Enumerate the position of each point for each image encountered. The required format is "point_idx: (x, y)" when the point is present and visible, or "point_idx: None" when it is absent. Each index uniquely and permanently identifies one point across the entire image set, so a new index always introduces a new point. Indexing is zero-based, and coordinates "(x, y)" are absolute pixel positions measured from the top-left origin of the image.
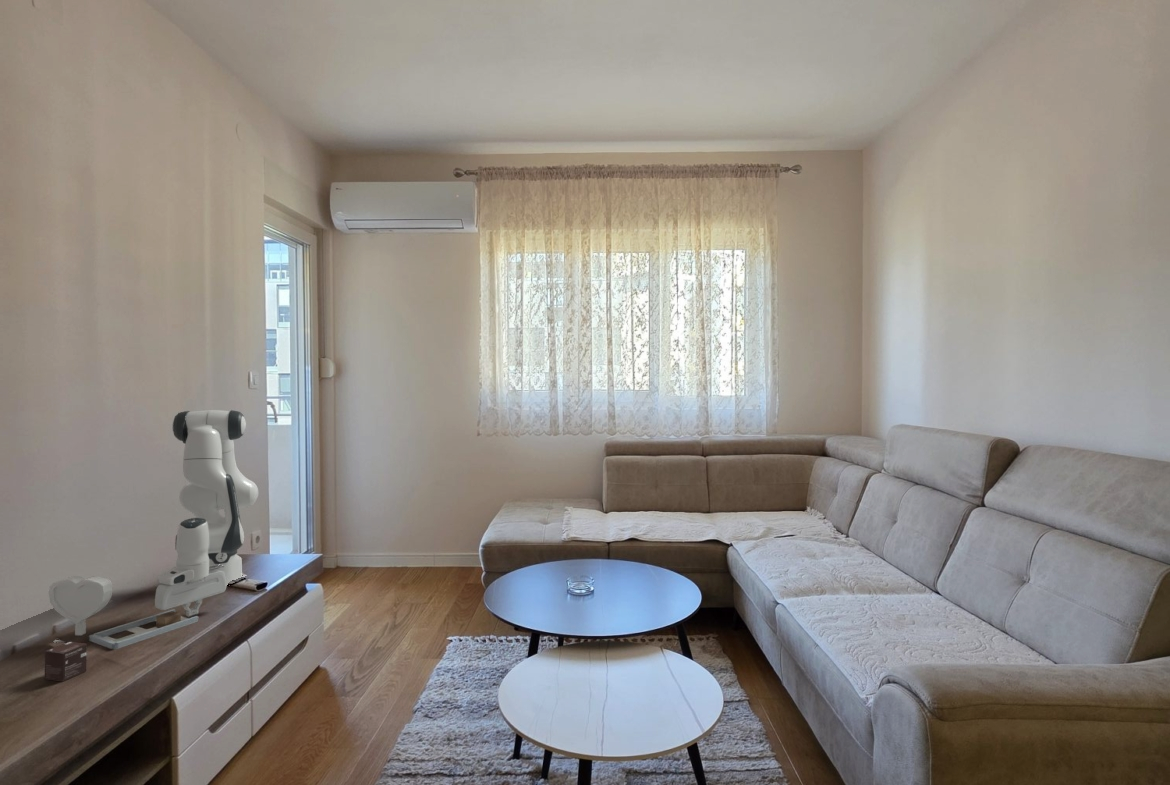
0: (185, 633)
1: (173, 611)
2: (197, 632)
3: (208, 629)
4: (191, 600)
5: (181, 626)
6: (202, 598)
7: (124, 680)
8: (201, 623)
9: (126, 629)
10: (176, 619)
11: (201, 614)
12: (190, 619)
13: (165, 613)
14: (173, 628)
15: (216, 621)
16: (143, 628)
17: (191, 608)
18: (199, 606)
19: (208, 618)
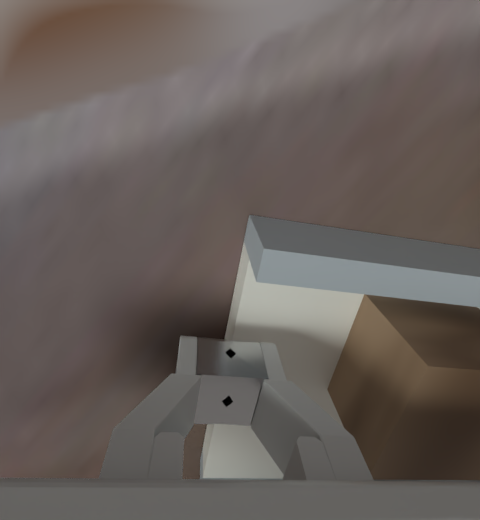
0: (405, 176)
1: (378, 462)
2: (373, 86)
3: (287, 37)
4: (347, 508)
5: (406, 252)
6: (117, 479)
7: None
8: (193, 241)
9: (469, 481)
10: (437, 334)
11: (64, 389)
12: (346, 258)
13: (434, 472)
14: (473, 263)
15: (99, 152)
16: None
17: (212, 422)
18: (164, 386)
19: (88, 282)
